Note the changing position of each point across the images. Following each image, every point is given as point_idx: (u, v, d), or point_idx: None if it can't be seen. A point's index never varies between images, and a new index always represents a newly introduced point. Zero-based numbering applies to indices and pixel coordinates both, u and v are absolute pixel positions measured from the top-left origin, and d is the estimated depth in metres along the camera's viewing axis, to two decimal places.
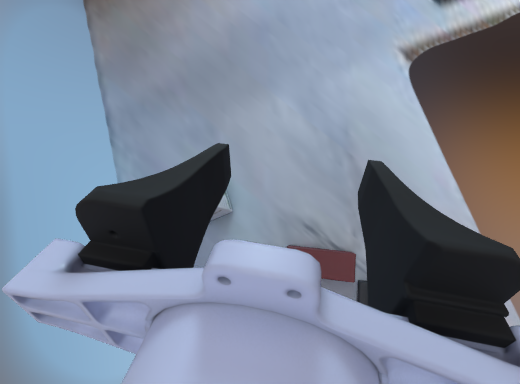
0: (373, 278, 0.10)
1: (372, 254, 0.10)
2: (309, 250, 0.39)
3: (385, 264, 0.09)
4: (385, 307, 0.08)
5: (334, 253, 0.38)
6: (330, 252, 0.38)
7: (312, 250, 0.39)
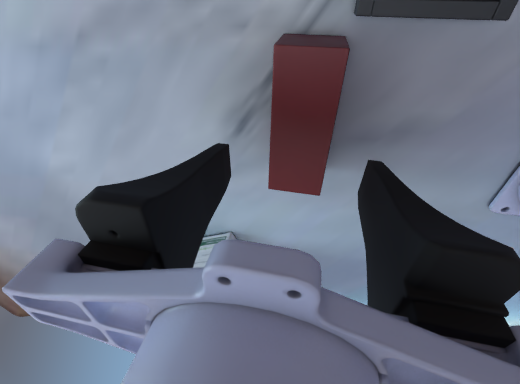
0: (373, 278, 0.10)
1: (372, 254, 0.10)
2: (272, 151, 0.18)
3: (385, 264, 0.09)
4: (385, 307, 0.08)
5: (275, 99, 0.16)
6: (273, 108, 0.16)
7: (272, 145, 0.18)
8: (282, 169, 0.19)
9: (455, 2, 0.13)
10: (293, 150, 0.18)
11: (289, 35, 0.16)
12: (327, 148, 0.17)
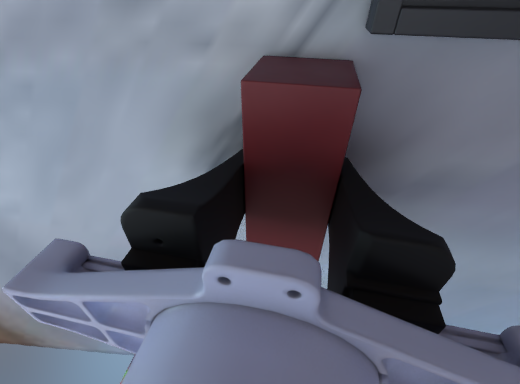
0: (331, 271, 0.10)
1: (332, 248, 0.11)
2: (249, 218, 0.13)
3: (338, 256, 0.09)
4: None
5: (248, 156, 0.11)
6: (247, 167, 0.11)
7: (248, 211, 0.13)
8: (263, 240, 0.14)
9: None
10: (278, 219, 0.13)
11: (270, 59, 0.11)
12: (326, 219, 0.12)
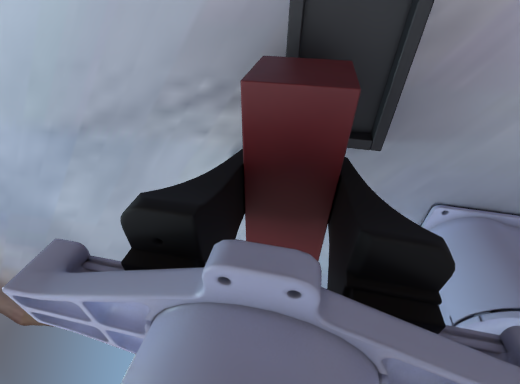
0: (331, 271, 0.10)
1: (332, 248, 0.11)
2: (249, 218, 0.13)
3: (338, 256, 0.09)
4: None
5: (248, 156, 0.11)
6: (246, 167, 0.11)
7: (248, 211, 0.13)
8: (263, 240, 0.14)
9: None
10: (278, 219, 0.13)
11: (270, 59, 0.11)
12: (325, 219, 0.12)
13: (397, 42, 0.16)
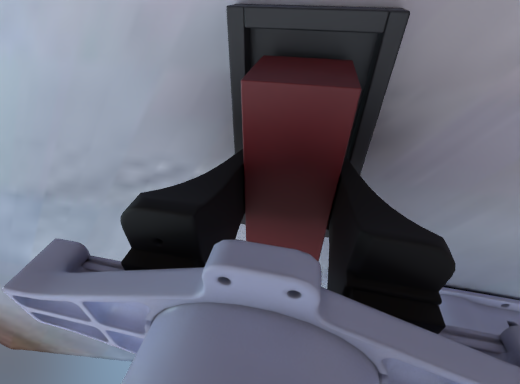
0: (331, 271, 0.10)
1: (332, 248, 0.11)
2: (249, 218, 0.13)
3: (338, 256, 0.09)
4: None
5: (248, 155, 0.11)
6: (247, 167, 0.11)
7: (248, 211, 0.13)
8: (263, 240, 0.14)
9: None
10: (278, 219, 0.13)
11: (270, 59, 0.11)
12: (326, 219, 0.12)
13: (347, 145, 0.15)
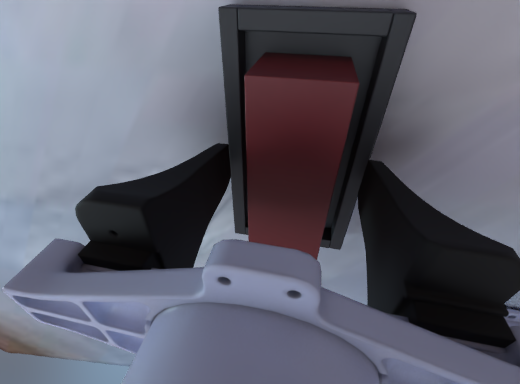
0: (373, 278, 0.10)
1: (372, 254, 0.10)
2: (251, 210, 0.13)
3: (385, 264, 0.09)
4: (385, 307, 0.08)
5: (251, 148, 0.11)
6: (249, 159, 0.11)
7: (250, 203, 0.13)
8: (265, 231, 0.14)
9: None
10: (279, 211, 0.13)
11: (272, 55, 0.12)
12: (325, 211, 0.12)
13: (348, 153, 0.15)
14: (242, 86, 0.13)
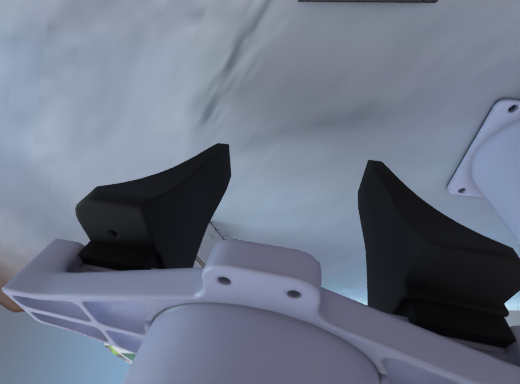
0: (373, 278, 0.10)
1: (372, 254, 0.10)
2: None
3: (385, 264, 0.09)
4: (385, 307, 0.08)
5: None
6: None
7: None
8: None
9: None
10: None
11: None
12: None
13: None
14: None
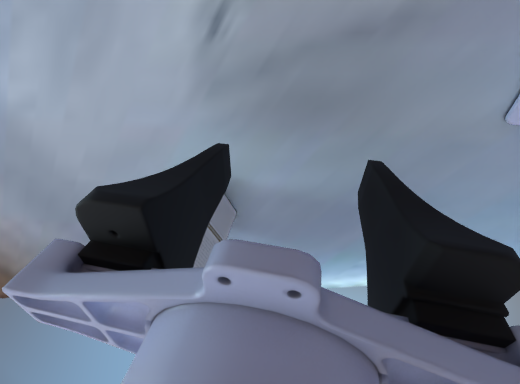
0: (373, 278, 0.10)
1: (372, 254, 0.10)
2: None
3: (385, 264, 0.09)
4: (385, 307, 0.08)
5: None
6: None
7: None
8: None
9: None
10: None
11: None
12: None
13: None
14: None
